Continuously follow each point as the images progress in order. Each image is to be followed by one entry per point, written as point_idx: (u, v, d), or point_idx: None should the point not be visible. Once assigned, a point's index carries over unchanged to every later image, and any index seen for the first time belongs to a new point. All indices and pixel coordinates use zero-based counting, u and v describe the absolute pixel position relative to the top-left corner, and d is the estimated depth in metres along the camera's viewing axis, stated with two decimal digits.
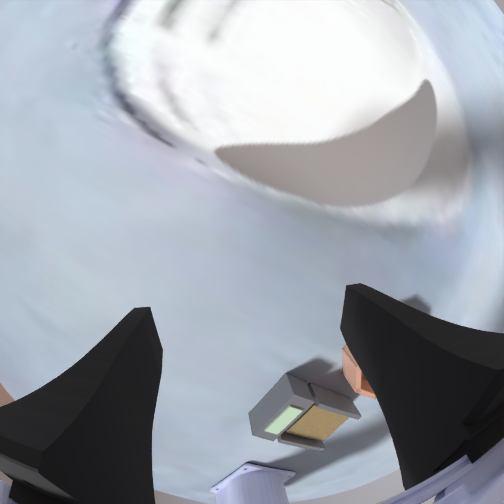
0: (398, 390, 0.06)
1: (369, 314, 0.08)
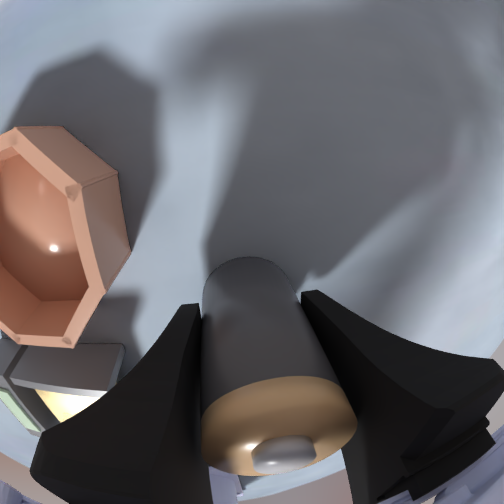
0: None
1: (319, 324, 0.08)
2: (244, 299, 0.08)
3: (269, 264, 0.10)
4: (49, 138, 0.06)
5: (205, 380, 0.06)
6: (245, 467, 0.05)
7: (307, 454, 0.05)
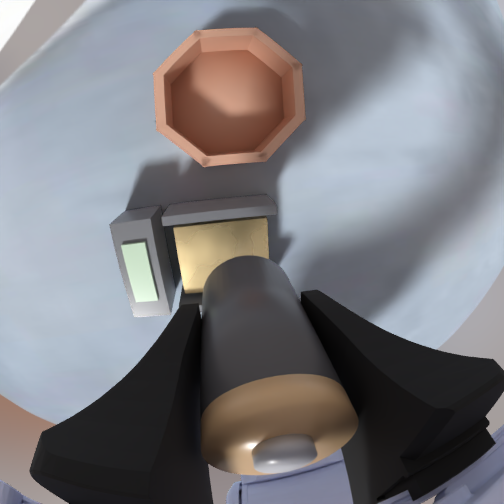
0: None
1: (319, 324, 0.08)
2: (245, 297, 0.08)
3: (270, 262, 0.10)
4: None
5: (205, 378, 0.06)
6: (245, 466, 0.05)
7: (308, 453, 0.05)
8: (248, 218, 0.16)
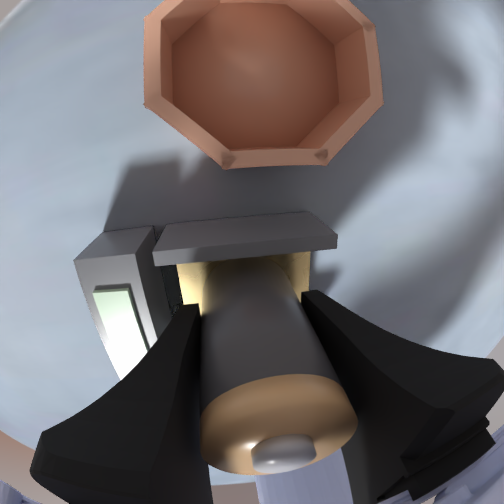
0: None
1: (319, 324, 0.08)
2: (244, 297, 0.08)
3: (269, 262, 0.10)
4: None
5: (204, 378, 0.06)
6: (244, 466, 0.05)
7: (307, 453, 0.05)
8: None
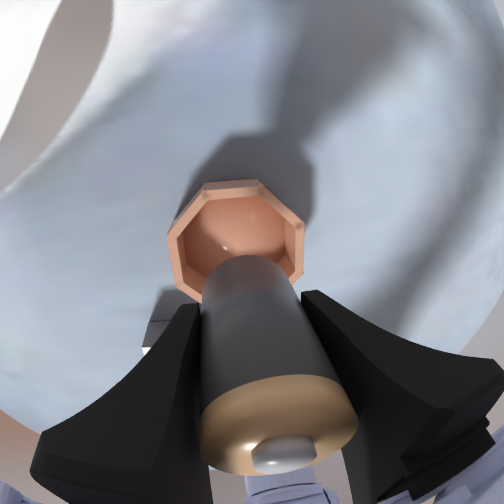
0: None
1: (319, 324, 0.08)
2: (244, 297, 0.08)
3: (269, 262, 0.10)
4: None
5: (204, 379, 0.06)
6: (245, 467, 0.05)
7: (308, 453, 0.05)
8: None
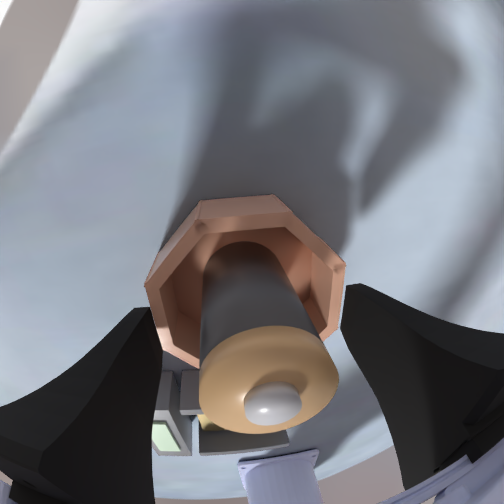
0: (398, 390, 0.06)
1: (369, 314, 0.08)
2: (240, 271, 0.09)
3: (262, 247, 0.12)
4: None
5: (204, 337, 0.07)
6: (238, 421, 0.07)
7: (293, 401, 0.06)
8: None
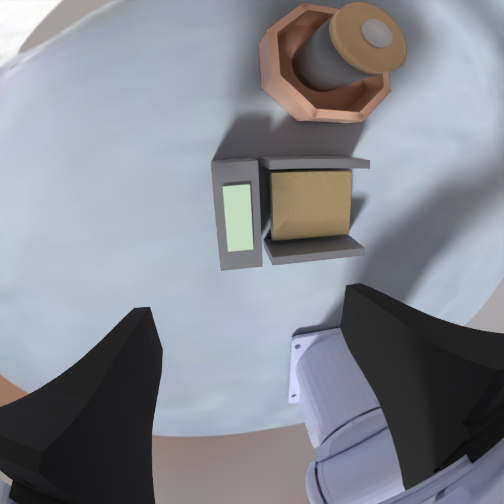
0: (398, 390, 0.06)
1: (369, 314, 0.08)
2: None
3: None
4: None
5: (325, 22, 0.09)
6: (358, 47, 0.08)
7: (387, 29, 0.08)
8: (335, 170, 0.16)
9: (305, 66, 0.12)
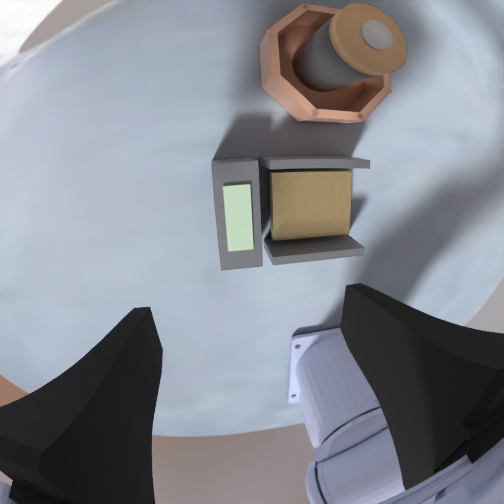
0: (398, 390, 0.06)
1: (369, 314, 0.08)
2: None
3: None
4: None
5: (325, 23, 0.09)
6: (358, 49, 0.08)
7: (387, 31, 0.08)
8: (335, 170, 0.16)
9: (305, 66, 0.12)
